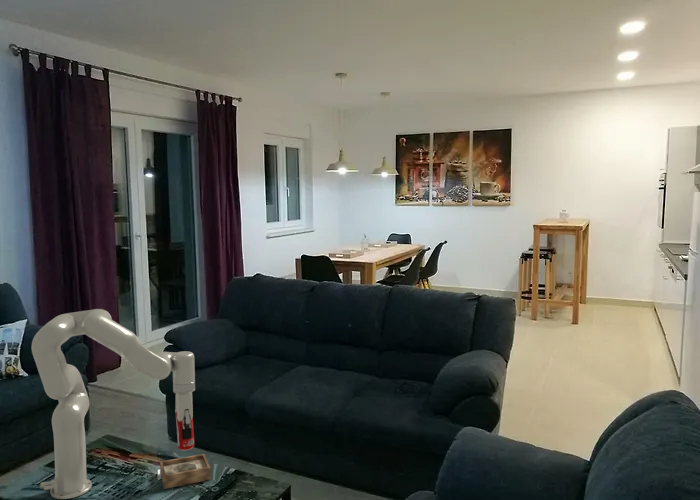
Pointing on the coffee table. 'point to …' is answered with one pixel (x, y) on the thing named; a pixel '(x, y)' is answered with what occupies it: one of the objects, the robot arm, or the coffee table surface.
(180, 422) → the beverage can
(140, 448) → the coffee table surface
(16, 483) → the coffee table surface
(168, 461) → the wooden box
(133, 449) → the coffee table surface
